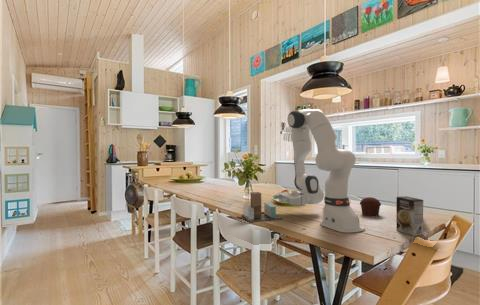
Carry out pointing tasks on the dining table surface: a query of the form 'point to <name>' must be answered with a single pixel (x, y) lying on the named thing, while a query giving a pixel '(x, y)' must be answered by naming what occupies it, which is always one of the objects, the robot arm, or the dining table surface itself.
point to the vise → (249, 214)
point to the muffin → (370, 206)
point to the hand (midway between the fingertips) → (276, 198)
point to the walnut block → (256, 203)
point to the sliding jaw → (270, 210)
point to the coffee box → (410, 215)
